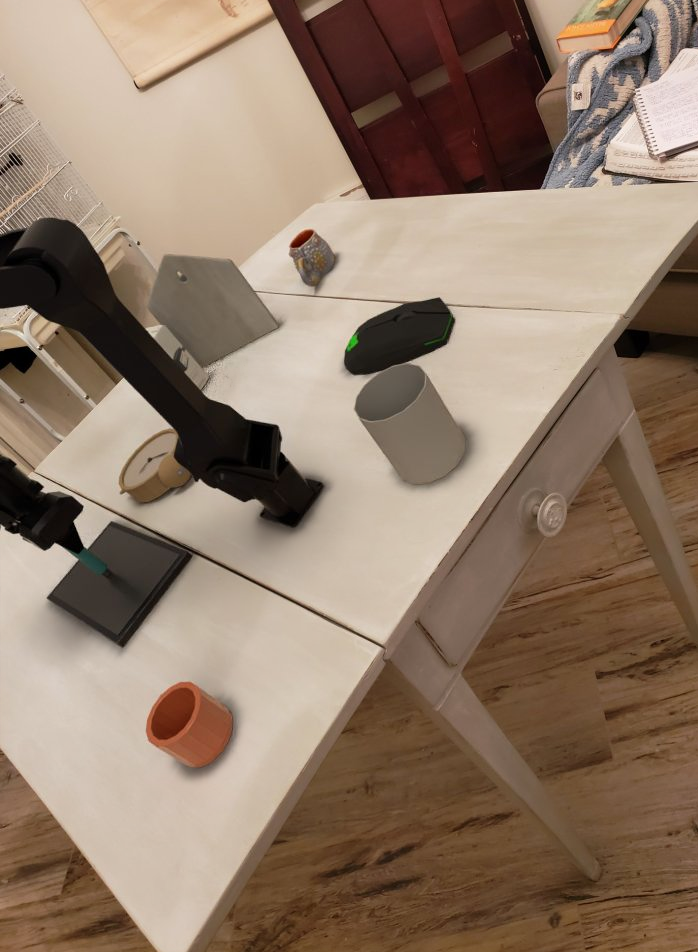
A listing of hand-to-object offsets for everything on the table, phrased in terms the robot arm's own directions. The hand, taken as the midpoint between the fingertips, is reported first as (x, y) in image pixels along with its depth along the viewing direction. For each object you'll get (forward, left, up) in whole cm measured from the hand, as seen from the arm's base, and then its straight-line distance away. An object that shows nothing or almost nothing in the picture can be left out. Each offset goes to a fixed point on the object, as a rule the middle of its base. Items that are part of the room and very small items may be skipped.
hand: (77, 549), depth 89 cm
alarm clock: (+6, -17, -7) cm, 19 cm away
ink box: (+20, -32, -7) cm, 38 cm away
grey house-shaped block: (+18, -45, -7) cm, 49 cm away
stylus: (0, 0, -6) cm, 6 cm away
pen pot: (-31, +9, -7) cm, 33 cm away
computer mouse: (-19, -45, -7) cm, 49 cm away
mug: (+10, -60, -7) cm, 61 cm away
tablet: (-1, 0, -7) cm, 7 cm away
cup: (-36, -27, -7) cm, 46 cm away
